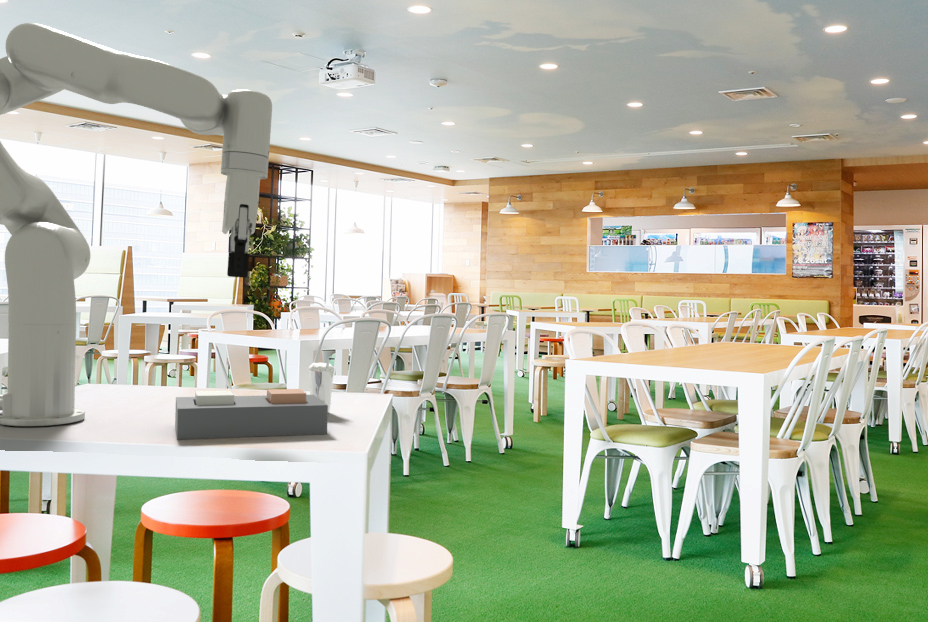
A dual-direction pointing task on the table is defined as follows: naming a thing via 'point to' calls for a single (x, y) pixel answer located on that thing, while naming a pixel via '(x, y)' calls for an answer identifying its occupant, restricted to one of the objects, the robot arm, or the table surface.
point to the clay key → (286, 396)
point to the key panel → (249, 418)
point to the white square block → (214, 397)
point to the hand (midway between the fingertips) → (237, 276)
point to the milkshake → (321, 381)
